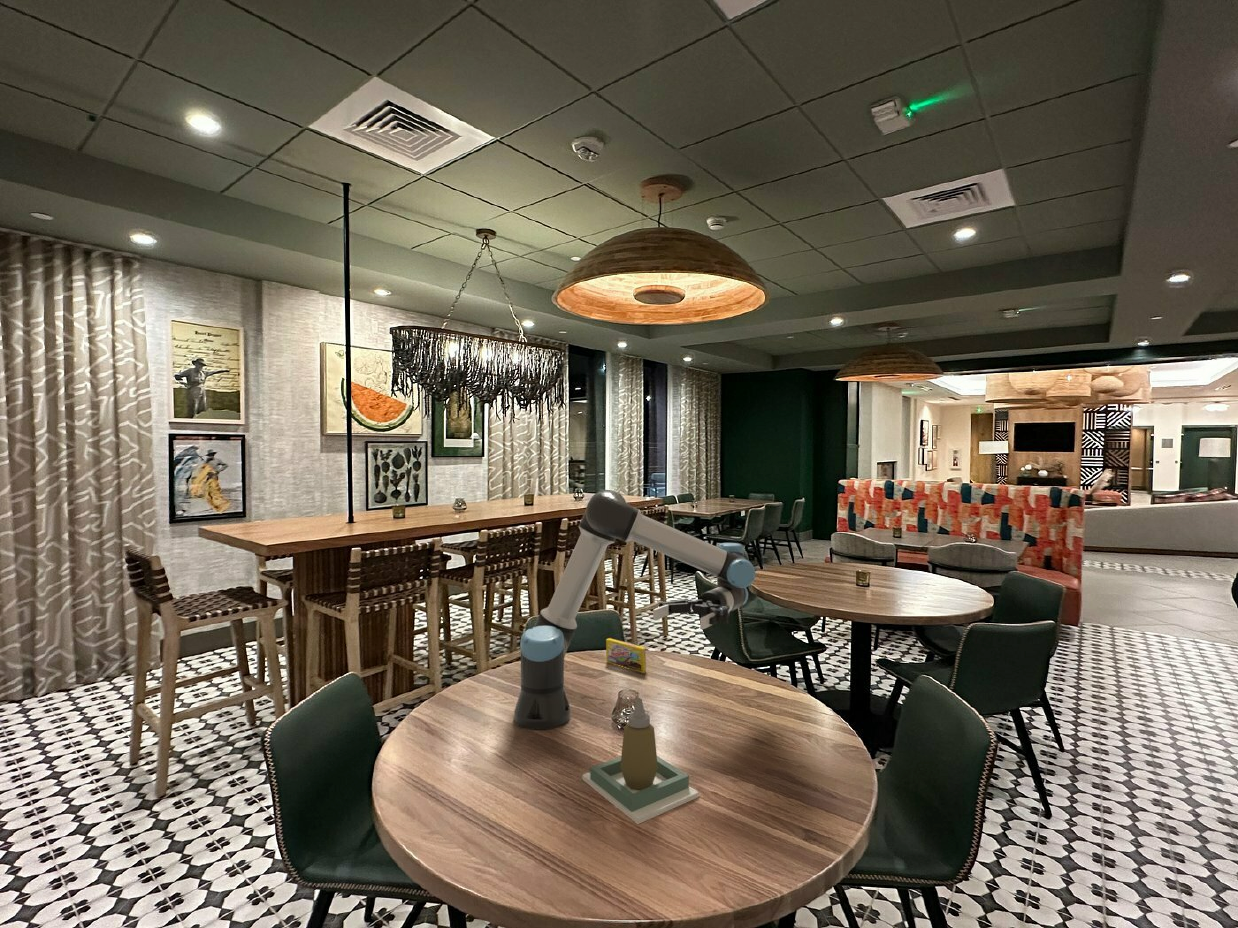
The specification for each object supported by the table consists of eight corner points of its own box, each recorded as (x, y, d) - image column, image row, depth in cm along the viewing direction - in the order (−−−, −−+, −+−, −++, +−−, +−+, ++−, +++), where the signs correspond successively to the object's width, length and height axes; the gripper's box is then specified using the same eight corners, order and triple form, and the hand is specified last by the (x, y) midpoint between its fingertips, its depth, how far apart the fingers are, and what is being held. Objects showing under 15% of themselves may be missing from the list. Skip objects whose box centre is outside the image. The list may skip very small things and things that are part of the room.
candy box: (605, 662, 208) (605, 638, 208) (609, 661, 209) (609, 637, 209) (642, 673, 197) (642, 648, 197) (646, 671, 199) (646, 646, 199)
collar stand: (582, 779, 132) (582, 763, 132) (639, 758, 141) (639, 743, 141) (637, 824, 116) (637, 806, 116) (698, 796, 125) (698, 780, 125)
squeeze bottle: (655, 795, 124) (655, 708, 124) (616, 791, 125) (616, 705, 125) (660, 775, 132) (660, 693, 132) (624, 771, 133) (624, 690, 133)
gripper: (757, 624, 161) (722, 643, 144) (676, 609, 176) (635, 625, 158) (757, 596, 161) (723, 612, 144) (676, 584, 175) (636, 597, 158)
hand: (677, 619), depth 151 cm, fingers open, 13 cm apart
